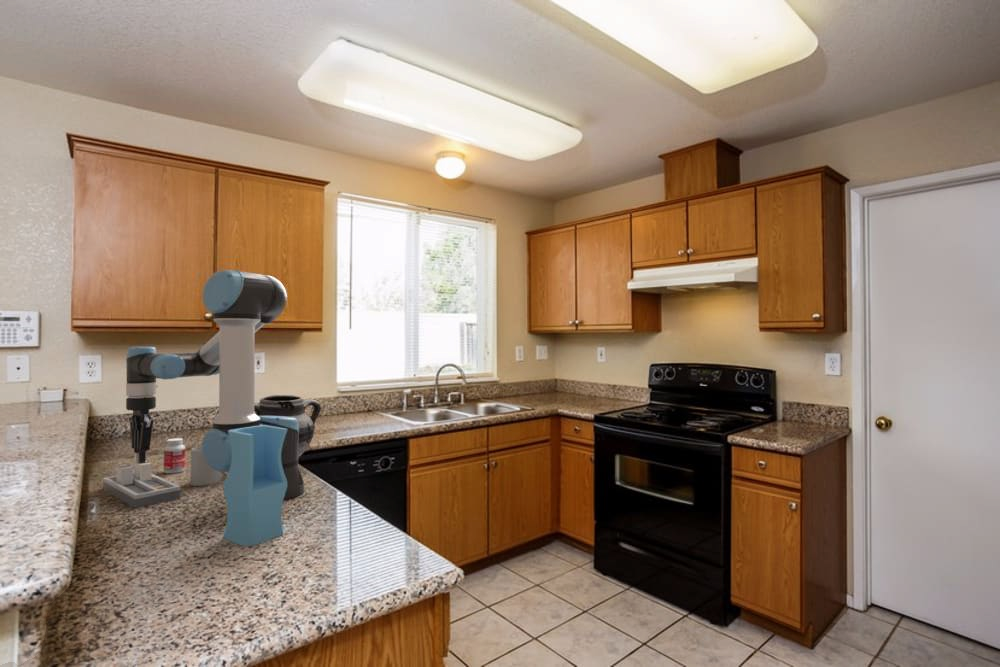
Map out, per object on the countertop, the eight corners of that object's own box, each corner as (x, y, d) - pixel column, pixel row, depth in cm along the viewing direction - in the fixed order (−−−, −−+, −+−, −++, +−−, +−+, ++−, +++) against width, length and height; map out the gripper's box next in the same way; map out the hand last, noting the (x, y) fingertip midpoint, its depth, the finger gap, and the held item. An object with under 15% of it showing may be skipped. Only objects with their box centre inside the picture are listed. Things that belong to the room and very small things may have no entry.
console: (180, 498, 146) (180, 486, 146) (135, 508, 137) (135, 495, 137) (144, 481, 162) (145, 470, 163) (102, 489, 154) (102, 478, 154)
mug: (219, 484, 160) (219, 449, 160) (187, 487, 157) (188, 451, 157) (224, 474, 171) (224, 442, 171) (194, 477, 168) (195, 444, 168)
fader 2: (151, 479, 155) (151, 462, 155) (140, 481, 153) (140, 464, 153) (146, 477, 158) (146, 460, 158) (135, 479, 155) (135, 462, 155)
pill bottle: (172, 474, 170) (173, 441, 170) (159, 473, 172) (159, 440, 172) (189, 470, 176) (189, 438, 176) (175, 468, 178) (176, 437, 178)
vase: (247, 547, 113) (248, 435, 113) (222, 537, 118) (224, 430, 118) (286, 533, 121) (288, 428, 121) (261, 524, 126) (263, 424, 127)
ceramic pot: (309, 454, 202) (310, 391, 202) (330, 466, 184) (331, 397, 184) (229, 465, 184) (230, 396, 184) (244, 479, 166) (245, 402, 166)
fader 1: (133, 483, 151) (133, 466, 151) (120, 485, 149) (121, 468, 149) (128, 481, 153) (128, 464, 153) (116, 483, 151) (116, 465, 151)
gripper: (163, 396, 156) (162, 473, 156) (147, 393, 164) (146, 466, 164) (134, 399, 150) (133, 478, 150) (119, 395, 158) (118, 471, 158)
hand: (140, 472), depth 157 cm, fingers closed
